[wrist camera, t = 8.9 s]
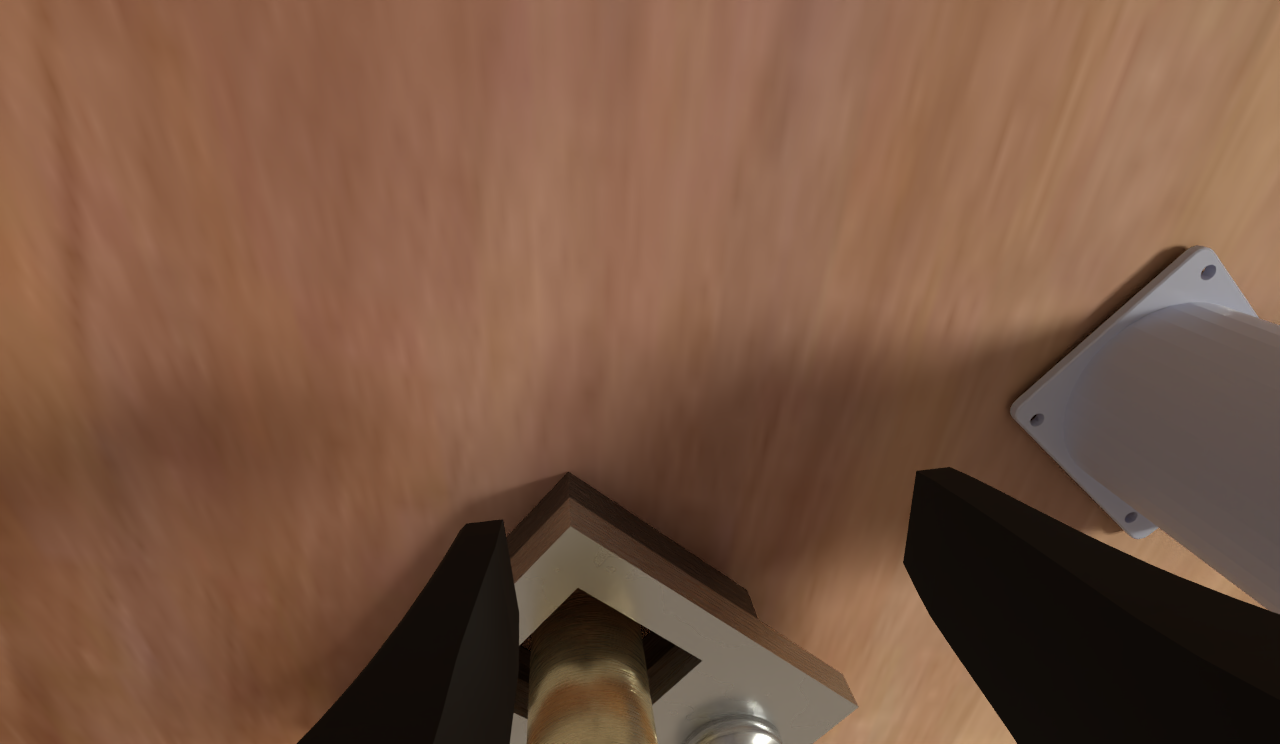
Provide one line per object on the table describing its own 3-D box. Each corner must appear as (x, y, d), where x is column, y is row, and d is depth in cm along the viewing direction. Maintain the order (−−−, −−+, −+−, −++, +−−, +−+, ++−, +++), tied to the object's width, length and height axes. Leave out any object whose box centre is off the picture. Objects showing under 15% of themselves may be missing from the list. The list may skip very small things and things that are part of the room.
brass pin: (658, 601, 26) (705, 849, 17) (591, 664, 27) (606, 926, 18) (578, 552, 24) (589, 797, 16) (510, 620, 25) (489, 883, 17)
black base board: (568, 471, 23) (569, 512, 21) (747, 590, 26) (764, 635, 24) (341, 712, 26) (323, 768, 24) (525, 791, 29) (523, 846, 27)
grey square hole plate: (416, 633, 25) (393, 724, 21) (568, 471, 23) (570, 543, 19) (683, 766, 30) (699, 857, 26) (828, 644, 28) (867, 725, 24)
